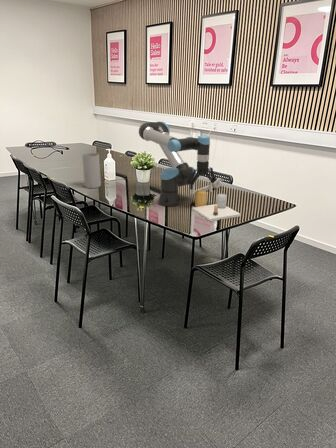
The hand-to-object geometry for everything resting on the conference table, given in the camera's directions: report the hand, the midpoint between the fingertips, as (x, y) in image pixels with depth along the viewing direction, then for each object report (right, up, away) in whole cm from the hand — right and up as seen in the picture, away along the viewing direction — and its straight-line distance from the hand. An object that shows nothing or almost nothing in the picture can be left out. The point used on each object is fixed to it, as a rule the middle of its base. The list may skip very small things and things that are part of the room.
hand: (201, 193), depth 222 cm
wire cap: (0, -8, +4) cm, 9 cm away
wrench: (+9, +5, +36) cm, 37 cm away
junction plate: (+8, -13, -9) cm, 18 cm away
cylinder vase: (-81, +9, +44) cm, 93 cm away
